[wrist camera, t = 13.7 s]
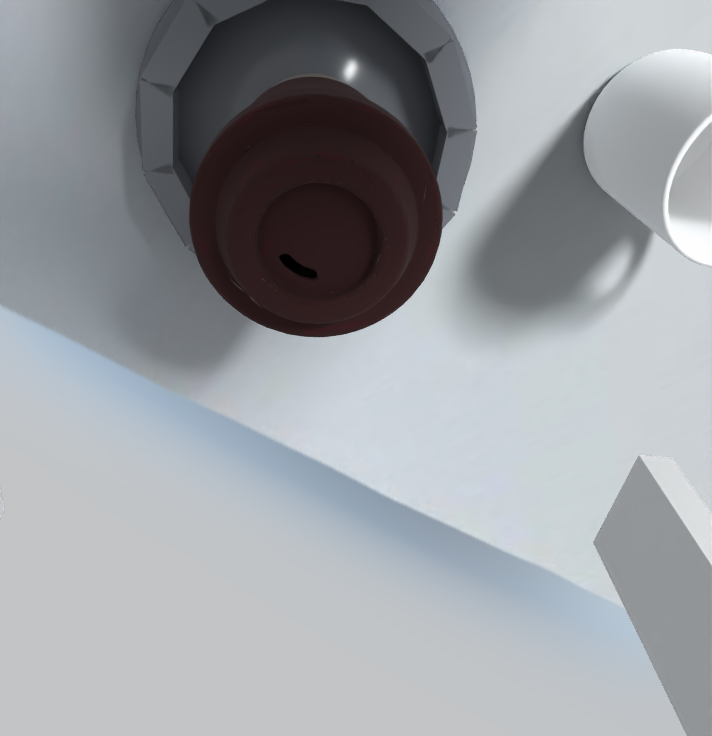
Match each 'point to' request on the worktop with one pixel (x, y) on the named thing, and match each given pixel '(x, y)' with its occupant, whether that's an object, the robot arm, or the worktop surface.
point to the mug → (658, 146)
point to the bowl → (292, 57)
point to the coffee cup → (315, 210)
